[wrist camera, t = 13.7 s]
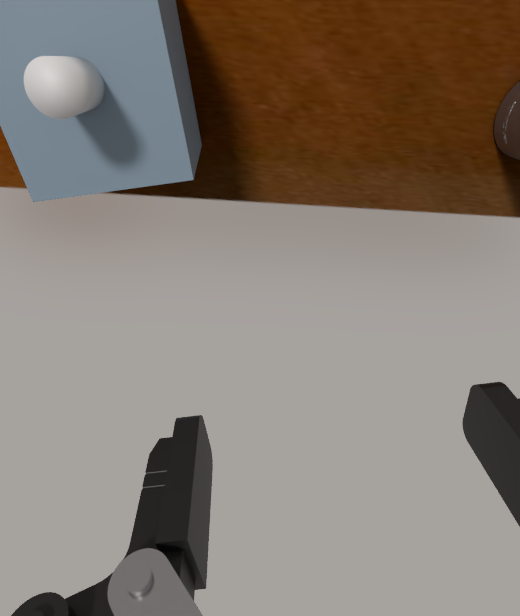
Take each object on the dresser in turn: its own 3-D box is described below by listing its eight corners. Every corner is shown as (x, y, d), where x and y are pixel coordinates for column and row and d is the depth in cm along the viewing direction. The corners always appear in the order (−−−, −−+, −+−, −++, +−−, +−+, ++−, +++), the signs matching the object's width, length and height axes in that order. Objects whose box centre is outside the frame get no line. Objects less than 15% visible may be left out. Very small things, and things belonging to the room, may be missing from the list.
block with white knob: (170, -26, 36) (125, -103, 19) (201, 145, 44) (189, 199, 27) (32, -8, 36) (-139, -68, 19) (88, 160, 43) (3, 224, 27)
